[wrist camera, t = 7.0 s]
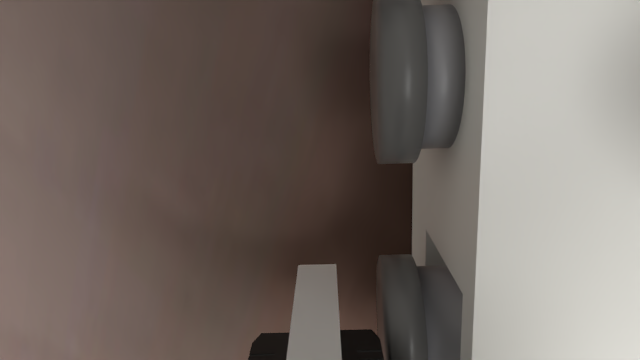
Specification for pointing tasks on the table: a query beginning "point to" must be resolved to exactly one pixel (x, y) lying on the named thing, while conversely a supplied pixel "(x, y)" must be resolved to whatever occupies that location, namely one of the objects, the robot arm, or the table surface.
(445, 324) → the knob
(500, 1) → the white knob control box
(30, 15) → the table surface
